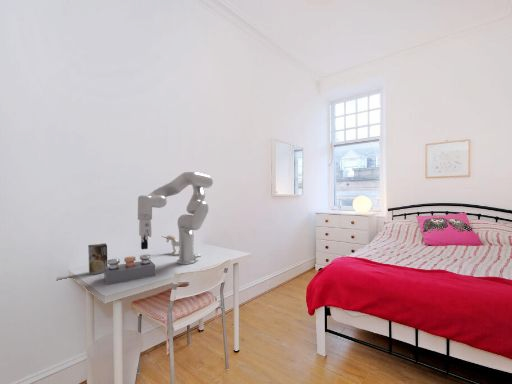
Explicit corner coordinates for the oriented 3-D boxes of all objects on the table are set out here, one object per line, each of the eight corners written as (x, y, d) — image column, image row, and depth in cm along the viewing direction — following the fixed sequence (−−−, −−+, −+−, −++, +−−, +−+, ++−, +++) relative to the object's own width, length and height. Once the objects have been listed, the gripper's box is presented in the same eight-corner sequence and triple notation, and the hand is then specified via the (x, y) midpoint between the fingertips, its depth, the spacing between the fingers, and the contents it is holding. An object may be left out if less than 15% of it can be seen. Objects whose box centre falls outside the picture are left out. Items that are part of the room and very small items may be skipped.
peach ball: (134, 266, 149) (134, 256, 149) (136, 269, 145) (136, 258, 144) (123, 268, 146) (123, 257, 146) (125, 270, 141) (125, 259, 141)
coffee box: (106, 269, 158) (106, 242, 157) (107, 272, 152) (107, 244, 152) (88, 272, 152) (88, 244, 152) (89, 275, 147) (88, 247, 147)
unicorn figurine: (165, 251, 199) (165, 234, 199) (190, 252, 198) (190, 234, 198) (161, 254, 192) (161, 236, 192) (187, 254, 191) (187, 236, 191)
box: (150, 269, 157) (150, 259, 157) (155, 275, 147) (155, 265, 147) (104, 277, 143) (104, 266, 143) (106, 284, 134) (106, 273, 133)
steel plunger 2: (149, 264, 154) (149, 254, 154) (151, 266, 149) (151, 256, 149) (139, 265, 151) (138, 255, 150) (141, 268, 146) (141, 257, 146)
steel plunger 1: (118, 268, 145) (118, 258, 144) (120, 271, 140) (120, 260, 140) (107, 270, 141) (107, 259, 141) (108, 273, 137) (108, 262, 137)
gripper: (155, 217, 145) (154, 250, 145) (148, 215, 157) (148, 245, 157) (140, 218, 141) (140, 252, 141) (135, 215, 153) (134, 247, 153)
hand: (144, 248), depth 149 cm, fingers closed
